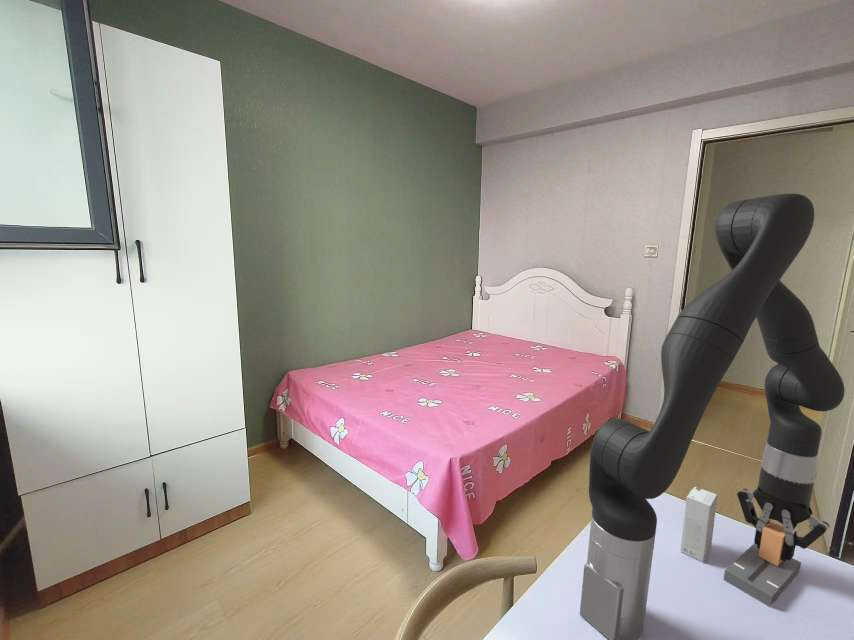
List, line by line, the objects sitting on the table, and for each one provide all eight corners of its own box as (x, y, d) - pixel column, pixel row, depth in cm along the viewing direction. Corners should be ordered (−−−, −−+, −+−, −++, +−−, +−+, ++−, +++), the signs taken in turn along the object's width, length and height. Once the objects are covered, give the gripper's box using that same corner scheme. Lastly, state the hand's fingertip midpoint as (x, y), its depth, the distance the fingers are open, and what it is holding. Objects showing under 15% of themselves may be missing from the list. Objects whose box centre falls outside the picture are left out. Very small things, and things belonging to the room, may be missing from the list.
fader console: (770, 607, 70) (771, 596, 70) (723, 579, 76) (724, 569, 76) (799, 571, 78) (801, 562, 78) (755, 549, 84) (757, 540, 84)
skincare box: (704, 563, 80) (712, 507, 78) (678, 551, 83) (685, 496, 81) (711, 548, 84) (719, 494, 82) (686, 537, 87) (694, 485, 85)
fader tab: (777, 566, 76) (782, 537, 76) (758, 556, 79) (763, 528, 78) (785, 558, 79) (790, 530, 78) (766, 548, 81) (771, 521, 80)
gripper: (734, 459, 80) (722, 539, 82) (833, 495, 68) (814, 586, 71) (750, 450, 84) (738, 526, 86) (845, 482, 72) (827, 569, 75)
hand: (772, 553), depth 79 cm, fingers closed on fader tab, 3 cm apart
